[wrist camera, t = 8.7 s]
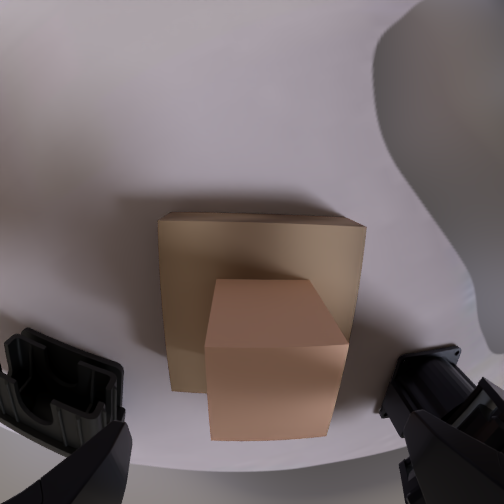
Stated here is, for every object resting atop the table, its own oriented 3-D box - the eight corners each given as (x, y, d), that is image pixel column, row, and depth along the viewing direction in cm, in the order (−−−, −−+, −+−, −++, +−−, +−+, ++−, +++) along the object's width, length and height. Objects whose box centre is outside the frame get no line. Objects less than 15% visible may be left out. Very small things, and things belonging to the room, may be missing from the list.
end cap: (29, 386, 20) (-5, 432, 13) (20, 322, 18) (-29, 366, 12) (127, 426, 21) (106, 486, 14) (130, 366, 19) (100, 432, 13)
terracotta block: (309, 280, 15) (349, 344, 9) (300, 356, 16) (326, 435, 10) (216, 278, 15) (204, 347, 9) (217, 356, 16) (211, 440, 10)
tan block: (346, 217, 17) (366, 227, 14) (326, 363, 20) (337, 390, 17) (171, 212, 17) (157, 220, 14) (179, 363, 19) (171, 391, 16)
